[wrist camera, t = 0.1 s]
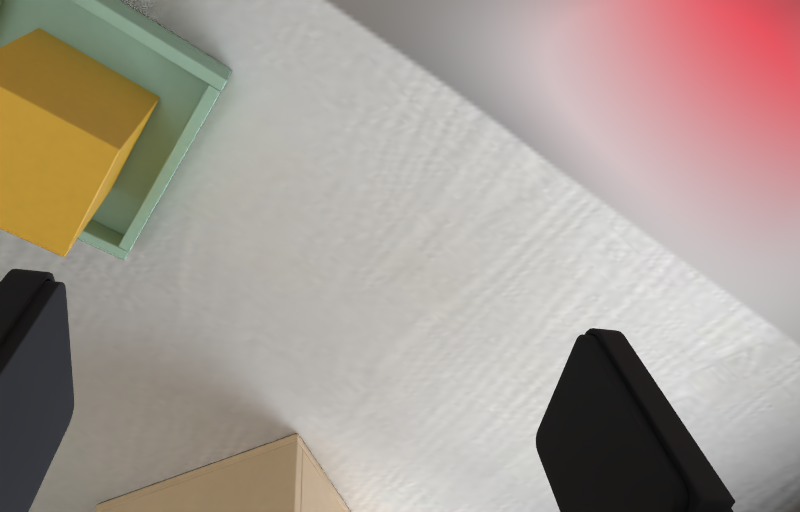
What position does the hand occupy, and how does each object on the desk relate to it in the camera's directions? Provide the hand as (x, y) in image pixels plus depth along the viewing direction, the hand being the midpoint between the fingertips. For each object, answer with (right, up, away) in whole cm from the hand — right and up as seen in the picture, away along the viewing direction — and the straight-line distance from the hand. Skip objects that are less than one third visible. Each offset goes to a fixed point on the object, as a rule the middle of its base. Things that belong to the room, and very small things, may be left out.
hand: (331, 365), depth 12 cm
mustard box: (-11, +7, +12) cm, 18 cm away
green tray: (-11, +8, +13) cm, 18 cm away
